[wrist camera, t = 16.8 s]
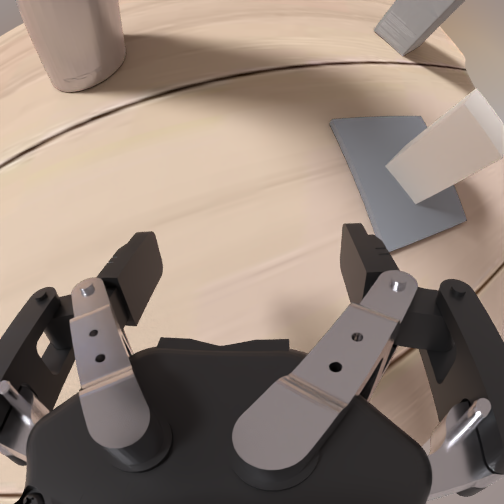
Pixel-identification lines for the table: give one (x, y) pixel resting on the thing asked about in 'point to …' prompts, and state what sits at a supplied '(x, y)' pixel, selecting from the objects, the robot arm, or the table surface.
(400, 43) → the skincare box
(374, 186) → the grey mat
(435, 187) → the cream block
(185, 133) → the table surface
